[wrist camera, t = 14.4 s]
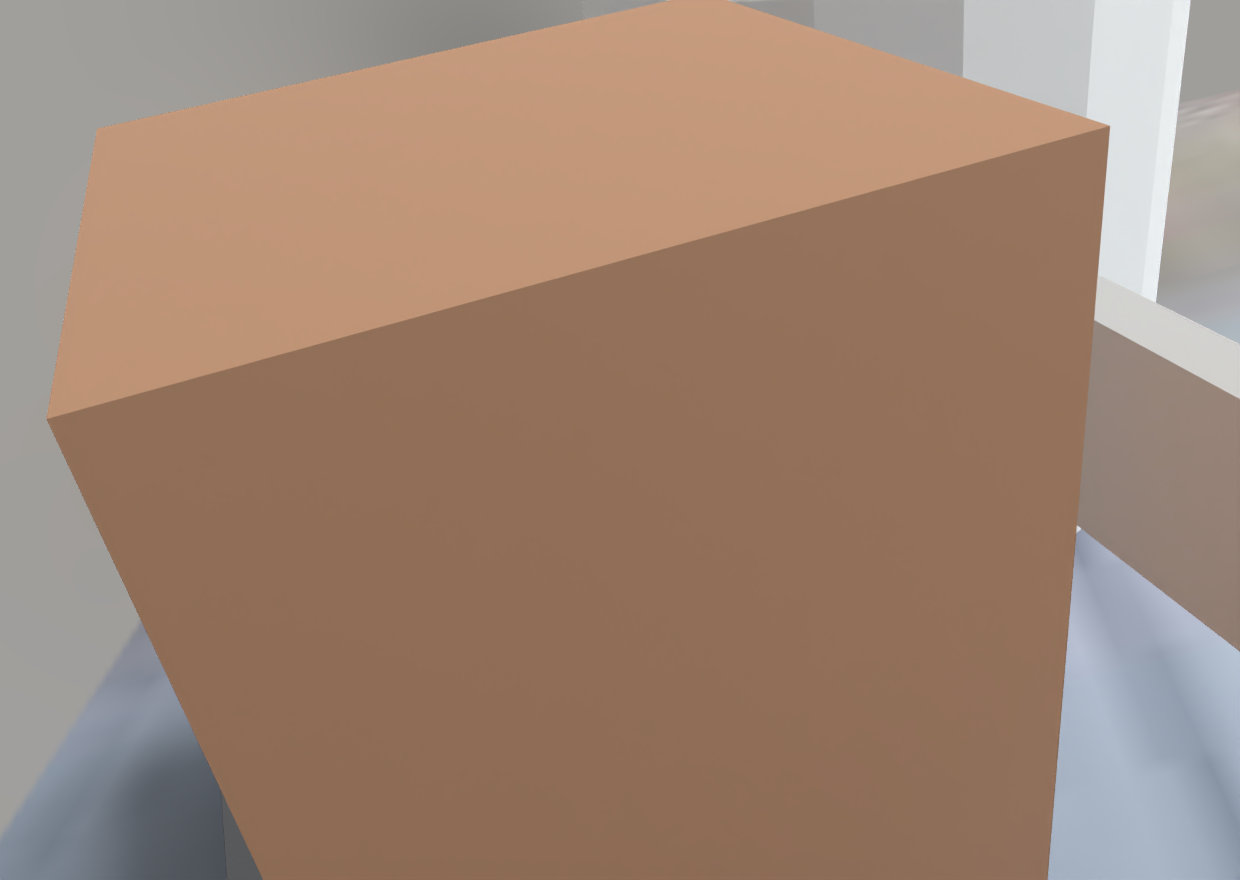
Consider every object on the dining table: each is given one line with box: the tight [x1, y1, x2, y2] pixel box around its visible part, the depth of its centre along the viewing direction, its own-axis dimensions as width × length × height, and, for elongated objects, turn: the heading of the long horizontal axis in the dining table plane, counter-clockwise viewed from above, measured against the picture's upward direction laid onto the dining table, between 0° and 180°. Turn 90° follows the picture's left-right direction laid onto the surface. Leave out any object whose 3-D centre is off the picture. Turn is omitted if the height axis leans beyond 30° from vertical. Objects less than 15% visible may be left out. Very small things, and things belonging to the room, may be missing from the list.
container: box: [581, 0, 1190, 533], centre depth 27 cm, size 14×13×20 cm
